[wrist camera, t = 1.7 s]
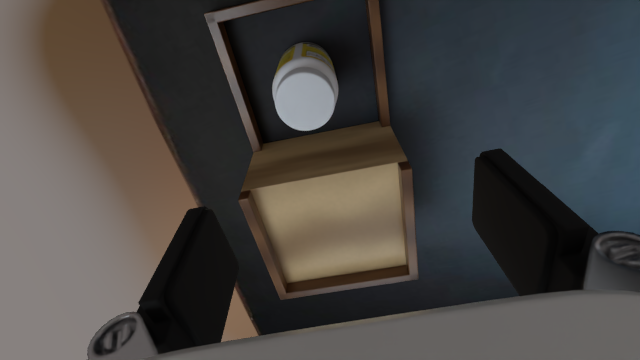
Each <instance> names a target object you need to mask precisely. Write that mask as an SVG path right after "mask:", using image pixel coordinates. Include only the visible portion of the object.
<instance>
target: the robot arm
mask: <svg viewBox="0 0 640 360" xmlns="http://www.w3.org/2000/svg"><path fill="white" fill-rule="evenodd" d="M472 221H473V225H474V228H475V229H476V231H477V232H478V234H479V235H480V237H481V238H482V240H483V241H484V243H485V244H486V246H487V247H488V249H489V250H490V252H491V253H492V255H493V256H494V258H495V259H496V261H497V263H498V264H499V266H500V267H501V269H502V270H503V272H504V273H505V275H506V276H507V278H508V279H509V281H510V282H511V284H512V285H513V287H514V288H515V290H516V291H517V293H518V294H519V297H511V298H504V299H497V300H489V301H482V302H475V303H469V304H462V305H455V306H449V307H442V308H435V309H429V310H422V311H415V312H409V313H402V314H396V315H389V316H383V317H376V318H370V319H363V320H357V321H350V322H344V323H338V324H331V325H325V326H319V327H312V328H306V329H300V330H293V331H287V332H281V333H275V334H269V335H262V336H256V337H250V338H244V339H238V340H231V341H226V342H221V339H222V335H223V330H224V327H225V322H226V319H227V315H228V310H229V307H230V302H231V299H232V295H233V290H234V286H235V282H236V278H237V274H238V270H239V265H238V261H237V259H236V257H235V255H234V252H233V250H232V248H231V246H230V244H229V242H228V240H227V238H226V236H225V234H224V232H223V230H222V228H221V226H220V224H219V222H218V220H217V218H216V216H215V214H214V212H213V211H212V210H211V209H209V210H208V208H206V207H199V208H193V209H189V210H188V211H187V213H186V215H185V216H184V218H183V220H182V222H181V224H180V226H179V228H178V230H177V231H176V233H175V235H174V237H173V239H172V241H171V243H170V245H169V247H168V248H167V250H166V252H165V254H164V256H163V258H162V260H161V261H160V264H159V265H158V267H157V269H156V271H155V273H154V275H153V277H152V278H151V280H150V282H149V284H148V286H147V288H146V290H145V292H144V293H143V295H142V297H141V299H140V301H139V305H140V306H139V309H138V310H137V312H127V313H124V314H121V315H118V316H116V317H115V318H113V319H111V320H110V321H108V322H107V323H106V324H105V325H103V326H102V327H101V328H100V329H99V330H98V331H97V332H96V334H95V335H94V337H93V338H92V340H91V341H90V344H89V346H88V353H87V355H88V360H640V235H638V234H634V233H631V232H624V231H607V232H603V233H599V234H598V233H597V232H596V231H595V230H594V229H593V228H592V227H590V226H589V225H588V224H587V223H586V222H585V221H584V220H582V219H581V218H580V217H579V216H578V215H577V214H576V213H574V212H573V211H572V210H571V209H570V208H569V207H568V206H566V205H565V204H564V203H563V202H562V201H561V200H560V199H558V198H557V197H556V196H555V195H554V194H553V193H552V192H550V191H549V190H548V189H547V188H546V187H545V186H544V185H542V184H541V183H540V182H539V181H537V180H536V179H535V178H534V177H533V176H532V175H531V174H529V173H528V172H527V171H526V170H525V169H524V168H523V167H522V166H520V165H519V164H518V163H517V162H516V161H515V160H514V159H512V158H511V157H510V156H509V155H508V154H507V153H506V152H504V151H503V150H502V149H494V150H489V151H484V152H482V153H481V154H480V157H477V158H476V159H475V169H474V190H473V211H472Z"/></svg>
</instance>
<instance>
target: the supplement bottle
mask: <svg viewBox="0 0 640 360" xmlns="http://www.w3.org/2000/svg"><path fill="white" fill-rule="evenodd" d="M272 93H273V99H274V102H275V107H276V110H277V113H278V115H279V117H280V118H281V119H282V121H283V122H284V123H286V124H287V125H288V126H290V127H292V128H294V129H297V130H301V131H310V130H314V129H317V128H319V127H321V126H323V125H324V124H325V123H326V122H327V121H328V120H329V119H330V117H331V116H332V114H333V112H334V108H335V104H336V101H337V98H338V82H337V78H336V74H335V71H334V67H333V63H332V60H331V58H330V56H329V55H328V53H327V52H326V51H325V50H324V49H323V48H322V47H320V46H318V45H316V44H314V43H309V42H302V43H298V44H295V45H293V46H291V47H290V48H289V49H287V50H286V51H285V53H284V54H283V55H282V57H281V59H280V62H279V65H278V68H277V71H276V74H275V77H274V80H273V85H272Z"/></svg>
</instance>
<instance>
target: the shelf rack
mask: <svg viewBox="0 0 640 360" xmlns="http://www.w3.org/2000/svg"><path fill="white" fill-rule="evenodd" d="M308 1H312V0H256V1H252V2H248V3H243V4H239V5H235V6H231V7H227V8H223V9H219V10H214V11H210V12H207V13H205V14H204V16H205V19H206V21H207V24H208V27H209V30H210V32H211V35H212V38H213V41H214V44H215V46H216V49H217V52H218V55H219V58H220V60H221V63H222V66H223V69H224V71H225V74H226V77H227V80H228V83H229V85H230V88H231V91H232V94H233V97H234V99H235V102H236V105H237V108H238V111H239V113H240V116H241V119H242V122H243V124H244V127H245V130H246V133H247V136H248V138H249V141H250V144H251V147H252V150H253V152H254V153H253V156H252V159H251V162H250V165H249V169H248V172H247V175H246V178H245V181H244V184H243V187H242V190H241V194H240V197H239V200H238V201H239V203H240V205H241V208H242V210H243V212H244V215H245V217H246V220H247V222H248V224H249V227H250V229H251V231H252V234H253V236H254V238H255V241H256V243H257V245H258V248H259V250H260V252H261V255H262V257H263V259H264V262H265V264H266V266H267V269H268V271H269V273H270V276H271V278H272V280H273V283H274V285H275V287H276V290H277V292H278V295H279V297H280V299H281V300H282V299H289V298H295V297H302V296H309V295H315V294H322V293H329V292H335V291H342V290H349V289H355V288H362V287H369V286H375V285H382V284H389V283H395V282H402V281H408V280H415V279H418V263H417V246H416V228H415V211H414V193H413V176H412V168H411V166H410V164H409V162H408V160H407V158H406V156H405V154H404V152H403V150H402V148H401V146H400V144H399V142H398V140H397V138H396V136H395V134H394V132H393V130H392V128H391V126H390V117H389V106H388V95H387V84H386V73H385V63H384V52H383V41H382V30H381V19H380V8H379V0H365V3H366V12H367V21H368V30H369V39H370V48H371V56H372V65H373V74H374V83H375V92H376V101H377V110H378V119H379V121H377V122H372V123H367V124H362V125H357V126H352V127H346V128H341V129H336V130H331V131H326V132H321V133H316V134H311V135H306V136H301V137H296V138H291V139H286V140H281V141H276V142H270V143H265V144H263V140H262V137H261V134H260V132H259V129H258V126H257V123H256V120H255V117H254V114H253V111H252V108H251V105H250V102H249V99H248V96H247V93H246V90H245V87H244V84H243V81H242V78H241V75H240V72H239V69H238V66H237V63H236V60H235V57H234V54H233V51H232V48H231V45H230V42H229V39H228V36H227V33H226V30H225V27H224V24H223V21H228V20H232V19H236V18H240V17H245V16H249V15H253V14H257V13H262V12H266V11H270V10H274V9H278V8H283V7H287V6H291V5H295V4H300V3H304V2H308Z"/></svg>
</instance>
